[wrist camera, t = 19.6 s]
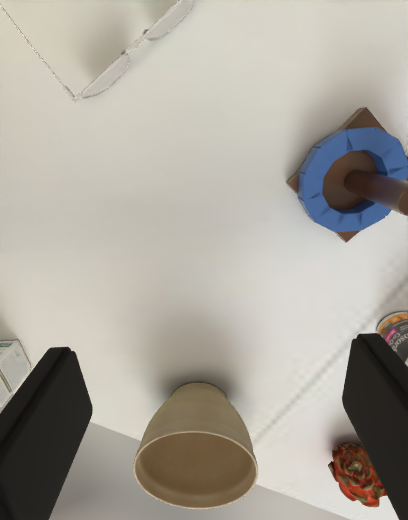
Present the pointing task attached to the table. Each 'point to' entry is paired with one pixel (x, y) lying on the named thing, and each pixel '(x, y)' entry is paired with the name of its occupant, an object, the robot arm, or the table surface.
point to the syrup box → (11, 367)
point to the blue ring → (332, 148)
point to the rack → (359, 178)
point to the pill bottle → (396, 333)
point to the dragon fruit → (356, 475)
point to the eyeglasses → (121, 63)
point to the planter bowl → (196, 451)
